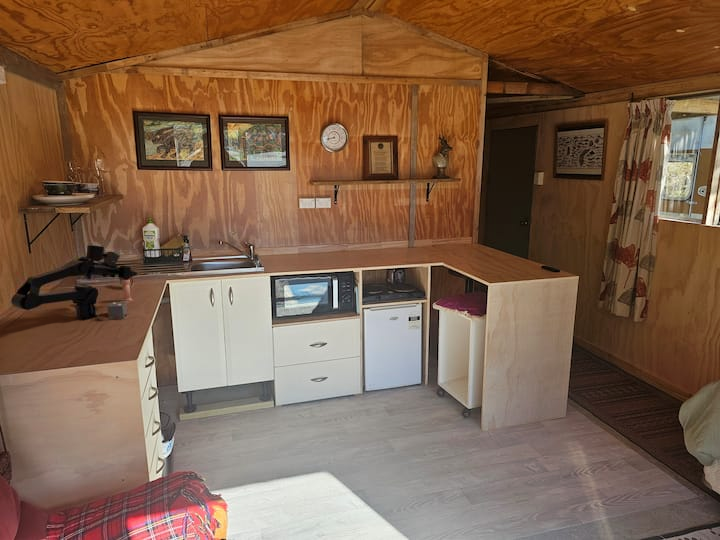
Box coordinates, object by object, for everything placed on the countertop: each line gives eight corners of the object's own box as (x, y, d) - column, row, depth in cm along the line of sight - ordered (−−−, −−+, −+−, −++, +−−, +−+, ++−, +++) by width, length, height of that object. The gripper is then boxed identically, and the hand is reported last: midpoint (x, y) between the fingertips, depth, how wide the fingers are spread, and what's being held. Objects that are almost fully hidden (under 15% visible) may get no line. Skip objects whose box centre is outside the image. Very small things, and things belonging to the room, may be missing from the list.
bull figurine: (123, 284, 277) (122, 270, 275) (136, 288, 268) (134, 273, 267) (116, 286, 273) (114, 271, 272) (128, 290, 265) (126, 275, 263)
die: (123, 319, 218) (122, 305, 216) (108, 319, 216) (107, 305, 215) (127, 315, 223) (125, 301, 222) (112, 315, 222) (111, 302, 221)
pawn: (126, 301, 239) (123, 279, 236) (121, 300, 241) (119, 277, 238) (133, 300, 242) (131, 277, 239) (128, 298, 244) (126, 276, 242)
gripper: (116, 253, 218) (146, 257, 232) (89, 249, 227) (120, 253, 241) (112, 279, 218) (142, 281, 232) (85, 274, 227) (116, 276, 241)
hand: (130, 272), depth 236 cm, fingers open, 9 cm apart
